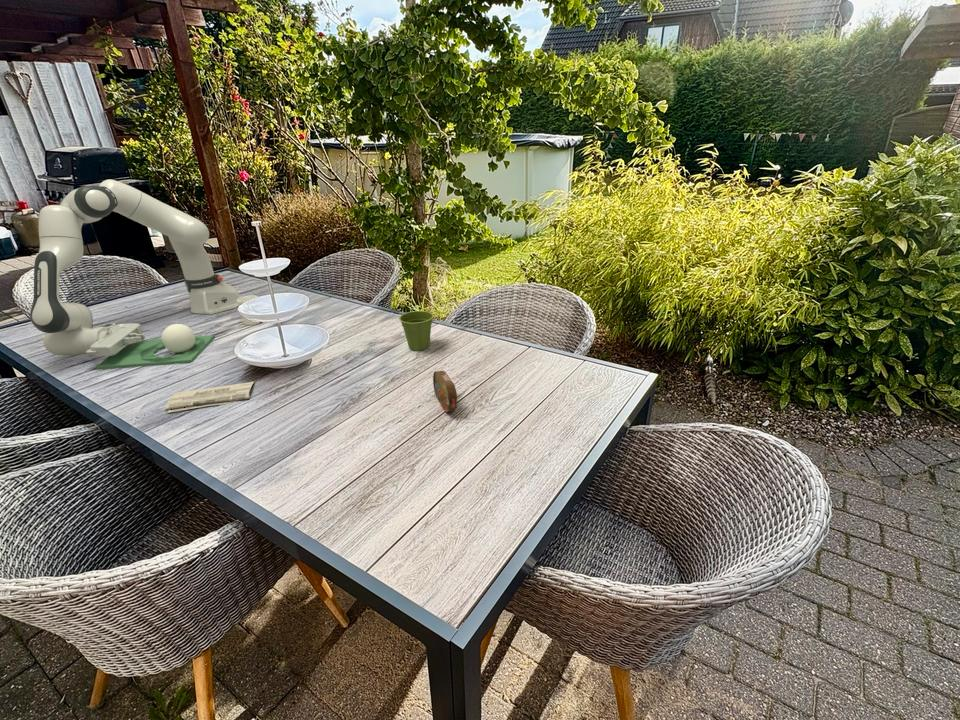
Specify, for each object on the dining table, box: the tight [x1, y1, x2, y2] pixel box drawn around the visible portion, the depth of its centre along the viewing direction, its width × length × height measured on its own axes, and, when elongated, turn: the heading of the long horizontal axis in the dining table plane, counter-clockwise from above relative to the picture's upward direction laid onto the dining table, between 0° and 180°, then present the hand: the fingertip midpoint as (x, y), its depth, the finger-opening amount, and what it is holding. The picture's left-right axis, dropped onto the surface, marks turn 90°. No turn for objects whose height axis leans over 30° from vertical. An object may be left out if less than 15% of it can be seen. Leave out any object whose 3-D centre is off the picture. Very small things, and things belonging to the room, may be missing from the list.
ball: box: [161, 323, 196, 354], centre depth 168 cm, size 10×10×10 cm
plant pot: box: [398, 310, 435, 351], centre depth 166 cm, size 12×12×11 cm
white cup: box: [237, 294, 260, 326], centre depth 191 cm, size 8×8×10 cm
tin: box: [432, 370, 458, 413], centre depth 133 cm, size 15×3×8 cm, turn 21°
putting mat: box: [95, 334, 216, 370], centre depth 170 cm, size 30×21×1 cm
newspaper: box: [164, 381, 256, 414], centre depth 141 cm, size 23×12×2 cm, turn 104°
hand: (142, 337), depth 167 cm, fingers closed
